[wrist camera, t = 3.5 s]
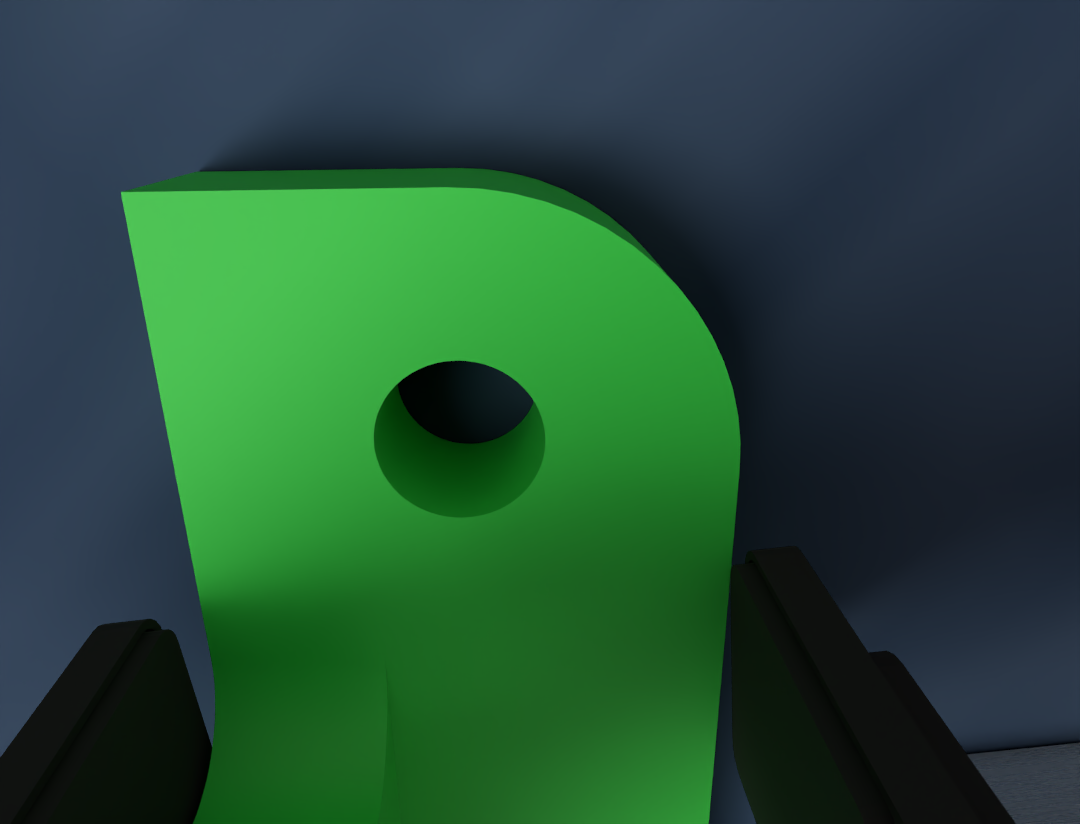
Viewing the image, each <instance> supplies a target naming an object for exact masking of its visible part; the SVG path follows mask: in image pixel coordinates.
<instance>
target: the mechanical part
mask: <svg viewBox="0 0 1080 824" xmlns="http://www.w3.org/2000/svg"><path fill="white" fill-rule="evenodd" d="M121 195H122V200H123V206H124V211H125V216H126V221H127V226H128V232H129V237H130V242H131V247H132V252H133V257H134V263H135V268H136V273H137V278H138V283H139V288H140V294H141V299H142V304H143V309H144V314H145V319H146V325H147V330H148V335H149V340H150V345H151V350H152V356H153V361H154V366H155V371H156V376H157V381H158V387H159V392H160V397H161V402H162V407H163V413H164V418H165V423H166V428H167V433H168V438H169V444H170V449H171V454H172V459H173V464H174V469H175V475H176V480H177V485H178V490H179V495H180V500H181V506H182V511H183V516H184V521H185V526H186V531H187V537H188V542H189V547H190V552H191V557H192V562H193V568H194V573H195V578H196V583H197V588H198V594H199V599H200V604H201V609H202V614H203V619H204V625H205V630H206V635H207V640H208V645H209V650H210V656H211V661H212V667H213V673H214V683H215V727H214V738H213V747H212V754H211V760H210V766H209V771H208V776H207V780H206V784H205V788H204V792H203V796H202V799H201V802H200V806H199V809H198V811H197V814H196V817H195V820H194V822H193V824H709V814H710V802H711V791H712V780H713V768H714V757H715V745H716V734H717V723H718V711H719V700H720V688H721V677H722V666H723V654H724V643H725V631H726V620H727V609H728V597H729V586H730V574H731V563H732V552H733V540H734V529H735V517H736V506H737V495H738V483H739V472H740V444H741V442H740V430H739V418H738V412H737V407H736V402H735V397H734V392H733V388H732V385H731V382H730V379H729V375H728V372H727V369H726V366H725V363H724V361H723V359H722V356H721V354H720V352H719V350H718V348H717V345H716V343H715V341H714V339H713V337H712V335H711V333H710V332H709V330H708V328H707V327H706V325H705V323H704V322H703V320H702V319H701V317H700V315H699V314H698V312H697V310H696V309H695V308H694V307H693V305H692V304H691V303H690V301H689V300H688V299H687V298H686V296H685V295H684V294H683V292H682V291H681V290H680V289H679V287H678V286H677V285H676V284H675V283H674V282H673V280H672V279H671V278H670V277H669V276H668V275H667V274H666V272H665V271H664V270H663V269H662V268H661V267H660V265H659V264H658V263H657V262H656V261H655V260H654V259H653V257H652V256H651V255H650V254H649V253H648V252H647V251H646V250H645V248H644V247H643V246H642V245H641V244H640V243H639V242H638V241H637V240H636V239H635V238H634V237H633V236H632V235H631V234H630V233H629V232H628V231H627V230H625V229H624V228H623V227H622V226H621V225H619V224H618V223H617V222H616V221H614V220H613V219H612V218H611V217H610V216H608V215H607V214H605V213H604V212H602V211H601V210H599V209H598V208H596V207H595V206H593V205H592V204H590V203H589V202H587V201H585V200H583V199H581V198H579V197H577V196H575V195H573V194H571V193H569V192H567V191H566V190H564V189H561V188H558V187H556V186H553V185H551V184H548V183H545V182H543V181H540V180H537V179H533V178H529V177H526V176H522V175H518V174H514V173H509V172H502V171H495V170H489V169H472V168H421V169H352V170H283V171H213V172H194V173H190V174H187V175H183V176H179V177H175V178H172V179H168V180H164V181H161V182H157V183H153V184H149V185H146V186H142V187H138V188H135V189H131V190H127V191H124V192H121ZM445 361H470V362H477V363H481V364H485V365H488V366H490V367H493V368H496V369H498V370H500V371H502V372H504V373H505V374H507V375H508V376H510V377H511V378H513V379H514V380H515V381H517V382H518V383H519V384H520V385H521V386H522V387H523V388H524V389H525V390H526V391H527V392H528V394H529V395H530V396H531V398H532V399H533V401H534V403H533V405H532V407H531V409H530V410H529V412H528V414H527V415H526V416H525V418H524V419H523V420H522V421H521V422H520V423H519V424H518V425H517V426H516V427H515V428H514V429H512V430H511V431H510V432H508V433H507V434H505V435H503V436H501V437H499V438H496V439H494V440H491V441H487V442H483V443H475V444H463V443H455V442H451V441H447V440H444V439H441V438H439V437H437V436H435V435H433V434H431V433H429V432H428V431H427V430H425V429H424V428H422V427H421V426H420V425H419V424H418V423H417V422H416V421H415V420H414V419H413V418H412V416H411V415H410V414H409V412H408V411H407V409H406V408H405V406H404V404H403V401H402V399H401V396H400V393H399V389H398V383H399V382H400V381H401V380H402V379H404V378H405V377H407V376H408V375H409V374H411V373H413V372H415V371H417V370H418V369H421V368H423V367H426V366H428V365H432V364H435V363H440V362H445Z"/></svg>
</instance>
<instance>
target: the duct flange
mask: <svg viewBox="0 0 1080 824" xmlns="http://www.w3.org/2000/svg"><path fill="white" fill-rule="evenodd" d="M967 755H968V757H969V758H970V760H971V761H972V762H973V764H974V765H975V767H976V768H977V769H978V771H979V772H980V774H981V775H982V776H983V778H984V779H985V781H986V782H987V784H988V785H989V786H990V788H991V789H992V791H993V792H994V793H995V795H996V796H997V798H998V799H999V800H1000V802H1001V803H1002V805H1003V806H1004V807H1005V809H1006V810H1007V812H1008V813H1009V815H1010V816H1011V817H1012V819H1013V820H1014V822H1015V823H1016V824H1080V743H1072V744H1063V745H1053V746H1044V747H1034V748H1024V749H1015V750H1005V751H995V752H986V753H976V754H967Z"/></svg>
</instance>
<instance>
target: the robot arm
mask: <svg viewBox="0 0 1080 824" xmlns="http://www.w3.org/2000/svg"><path fill="white" fill-rule="evenodd" d="M731 657H732V737H733V750H734V756H735V761H736V765H737V769H738V773H739V776H740V779H741V781H742V784H743V787H744V790H745V793H746V795H747V798H748V801H749V804H750V807H751V809H752V812H753V815H754V818H755V821H756V823H757V824H1016V823H1015V822H1014V820H1013V819H1012V817H1011V816H1010V815H1009V813H1008V812H1007V810H1006V809H1005V807H1004V806H1003V805H1002V803H1001V802H1000V800H999V799H998V798H997V796H996V795H995V793H994V792H993V791H992V789H991V788H990V786H989V785H988V784H987V782H986V781H985V779H984V778H983V776H982V775H981V774H980V772H979V771H978V769H977V768H976V767H975V765H974V764H973V762H972V761H971V760H970V758H969V757H968V755H967V754H966V752H965V751H964V750H963V748H962V747H961V745H960V744H959V743H958V741H957V740H956V738H955V737H954V736H953V734H952V733H951V731H950V730H949V729H948V727H947V726H946V724H945V723H944V721H943V720H942V719H941V717H940V716H939V714H938V713H937V712H936V710H935V709H934V707H933V706H932V705H931V703H930V702H929V700H928V699H927V697H926V696H925V695H924V693H923V692H922V690H921V689H920V688H919V686H918V685H917V683H916V682H915V681H914V679H913V678H912V676H911V675H910V674H909V672H908V671H907V669H906V668H905V666H904V665H903V664H902V663H901V661H900V660H899V659H898V658H897V657H896V656H895V655H894V654H892V653H890V652H888V651H880V652H871V653H868V652H867V650H866V649H865V647H864V646H863V644H862V643H861V641H860V639H859V638H858V636H857V635H856V633H855V632H854V630H853V629H852V627H851V626H850V624H849V623H848V621H847V620H846V618H845V617H844V615H843V614H842V612H841V611H840V609H839V608H838V606H837V605H836V603H835V602H834V600H833V599H832V597H831V596H830V594H829V593H828V591H827V590H826V588H825V587H824V585H823V584H822V582H821V581H820V579H819V578H818V576H817V575H816V573H815V572H814V570H813V569H812V567H811V565H810V564H809V562H808V561H807V559H806V558H805V556H804V555H803V553H802V552H801V551H800V549H799V548H798V547H796V546H788V547H779V548H770V549H761V550H752V551H748V553H747V554H746V558H745V564H739V565H733V566H732V568H731ZM211 754H212V746H211V742H210V739H209V736H208V733H207V730H206V727H205V724H204V721H203V717H202V714H201V711H200V708H199V705H198V702H197V699H196V696H195V692H194V689H193V686H192V683H191V680H190V677H189V674H188V670H187V667H186V664H185V661H184V658H183V655H182V652H181V649H180V645H179V642H178V640H177V637H176V635H175V634H174V632H173V631H171V630H162V629H161V627H160V625H159V624H158V623H157V622H156V621H155V620H152V619H145V620H136V621H127V622H118V623H110V624H103V625H100V626H98V627H97V628H96V629H95V630H94V631H93V632H92V634H91V635H90V636H89V638H88V639H87V640H86V642H85V643H84V644H83V646H82V647H81V648H80V650H79V651H78V653H77V654H76V655H75V657H74V658H73V659H72V661H71V662H70V663H69V665H68V666H67V668H66V669H65V670H64V672H63V673H62V674H61V676H60V677H59V678H58V680H57V681H56V683H55V684H54V685H53V687H52V688H51V689H50V691H49V692H48V693H47V695H46V696H45V697H44V699H43V700H42V702H41V703H40V704H39V706H38V707H37V708H36V710H35V711H34V712H33V714H32V715H31V717H30V718H29V719H28V721H27V722H26V723H25V725H24V726H23V727H22V729H21V730H20V732H19V733H18V734H17V736H16V737H15V738H14V740H13V741H12V742H11V744H10V745H9V746H8V748H7V749H6V751H5V752H4V753H3V755H2V756H1V757H0V824H193V822H194V820H195V817H196V814H197V811H198V809H199V806H200V802H201V799H202V796H203V792H204V788H205V784H206V780H207V776H208V771H209V766H210V760H211Z"/></svg>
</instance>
